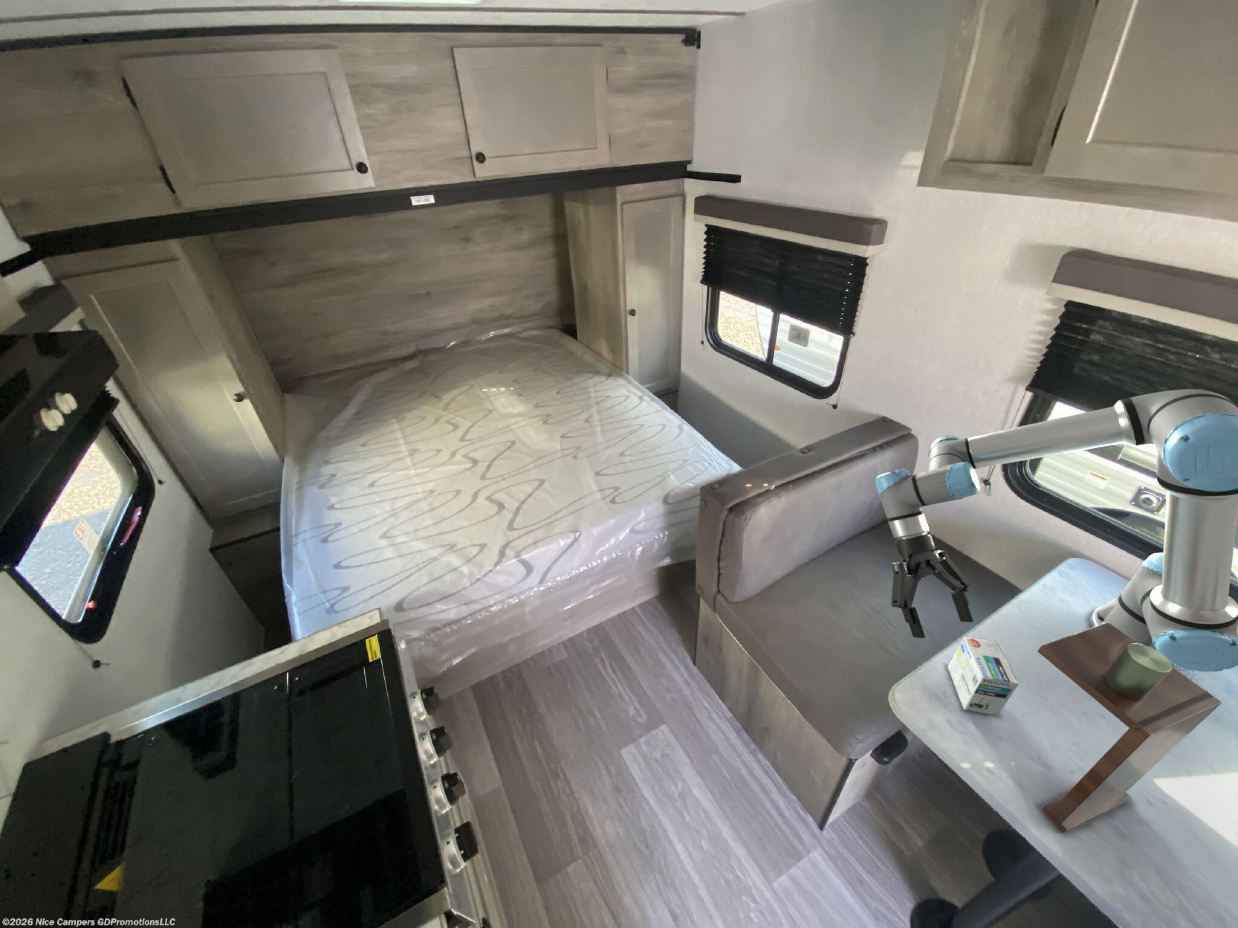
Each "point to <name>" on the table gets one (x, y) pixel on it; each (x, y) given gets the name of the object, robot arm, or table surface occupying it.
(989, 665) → the light bulb box
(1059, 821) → the shelf stand
